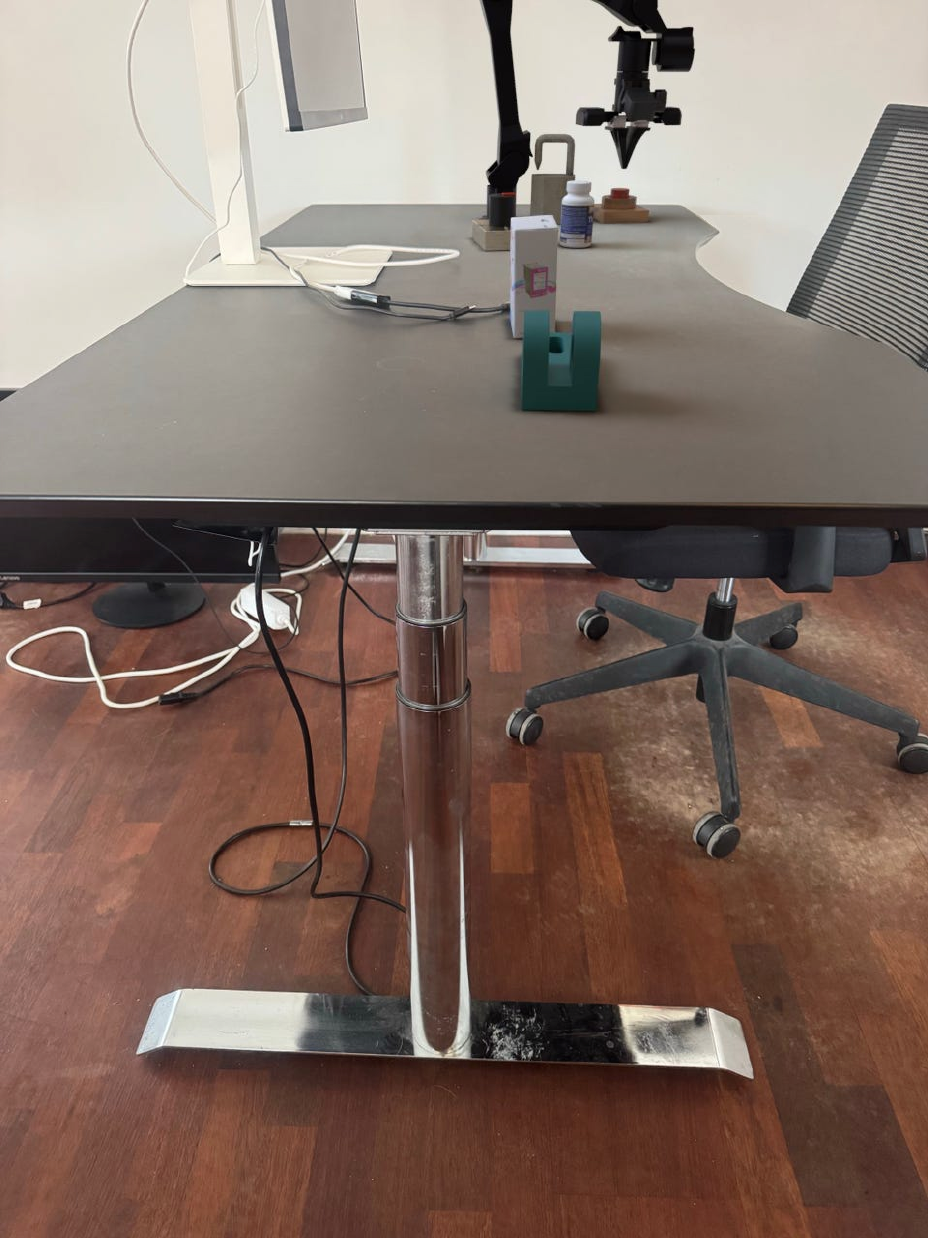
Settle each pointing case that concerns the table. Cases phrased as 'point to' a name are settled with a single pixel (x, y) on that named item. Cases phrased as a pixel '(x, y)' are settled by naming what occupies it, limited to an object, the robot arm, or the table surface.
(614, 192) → the button
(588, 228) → the pill bottle
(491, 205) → the knob
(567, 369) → the bracket
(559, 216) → the padlock
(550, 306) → the ink box
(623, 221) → the wooden button base
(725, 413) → the table surface
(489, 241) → the beige flat rectangular block
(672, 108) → the robot arm
